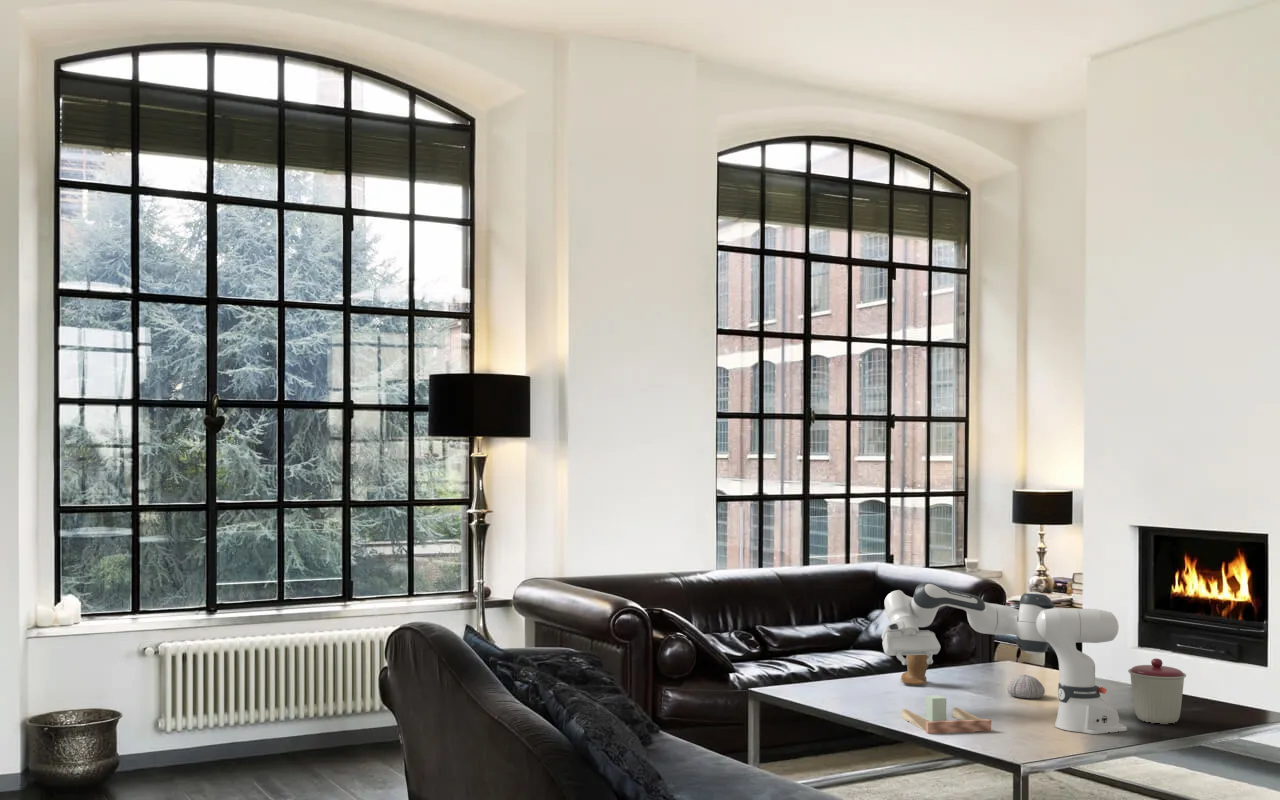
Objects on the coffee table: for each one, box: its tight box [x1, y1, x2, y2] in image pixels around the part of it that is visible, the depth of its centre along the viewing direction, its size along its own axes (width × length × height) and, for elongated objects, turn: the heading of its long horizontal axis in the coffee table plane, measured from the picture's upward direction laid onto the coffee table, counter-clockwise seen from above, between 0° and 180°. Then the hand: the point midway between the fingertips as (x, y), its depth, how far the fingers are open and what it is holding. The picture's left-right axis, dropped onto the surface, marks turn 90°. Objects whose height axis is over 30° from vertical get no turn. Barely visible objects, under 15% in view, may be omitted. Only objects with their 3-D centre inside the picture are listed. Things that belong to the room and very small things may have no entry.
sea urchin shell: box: [1006, 674, 1046, 700], centre depth 438 cm, size 13×14×8 cm
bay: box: [901, 707, 992, 735], centre depth 389 cm, size 22×22×4 cm
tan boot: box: [900, 655, 930, 686], centre depth 461 cm, size 15×12×15 cm
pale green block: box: [925, 694, 947, 721], centre depth 395 cm, size 5×5×8 cm
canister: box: [1127, 657, 1187, 725], centre depth 399 cm, size 18×18×21 cm
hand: (917, 663), depth 409 cm, fingers open, 8 cm apart
